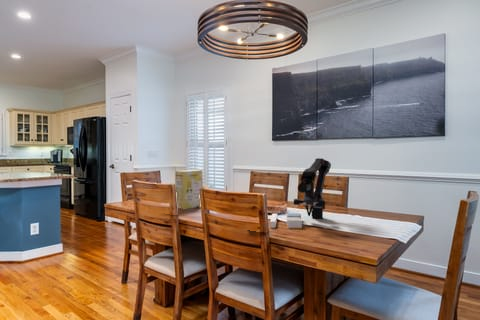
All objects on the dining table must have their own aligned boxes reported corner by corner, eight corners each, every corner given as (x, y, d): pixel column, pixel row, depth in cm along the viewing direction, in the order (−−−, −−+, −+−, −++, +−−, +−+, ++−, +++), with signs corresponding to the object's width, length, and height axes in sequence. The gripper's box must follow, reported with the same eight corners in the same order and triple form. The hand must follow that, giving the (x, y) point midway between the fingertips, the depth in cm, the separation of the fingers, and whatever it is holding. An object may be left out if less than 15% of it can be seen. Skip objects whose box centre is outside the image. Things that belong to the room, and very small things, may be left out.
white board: (277, 219, 200) (277, 213, 200) (275, 227, 178) (275, 221, 178) (272, 218, 201) (272, 213, 200) (270, 227, 179) (270, 221, 179)
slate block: (300, 220, 197) (300, 213, 197) (300, 223, 189) (300, 216, 189) (288, 220, 199) (288, 212, 199) (287, 222, 191) (287, 215, 191)
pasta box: (194, 204, 254) (193, 169, 253) (202, 206, 247) (202, 170, 246) (175, 207, 240) (175, 171, 239) (184, 209, 233) (183, 171, 232)
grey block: (300, 225, 186) (300, 217, 185) (301, 228, 178) (301, 220, 178) (286, 224, 186) (286, 217, 186) (287, 228, 179) (287, 220, 178)
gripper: (293, 192, 185) (293, 218, 186) (326, 192, 182) (326, 219, 183) (293, 189, 196) (293, 214, 197) (324, 190, 193) (324, 215, 194)
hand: (309, 216), depth 192 cm, fingers closed
